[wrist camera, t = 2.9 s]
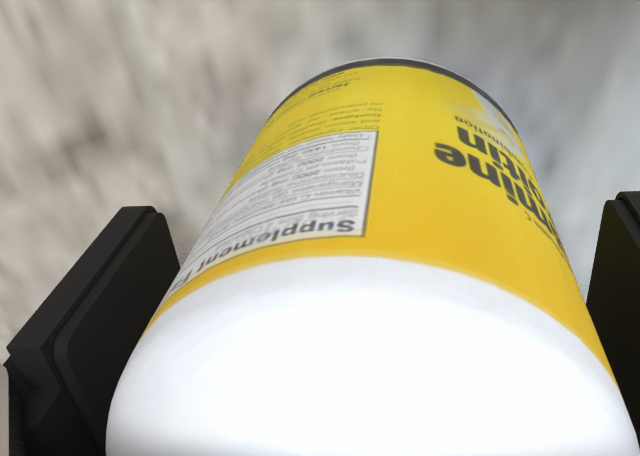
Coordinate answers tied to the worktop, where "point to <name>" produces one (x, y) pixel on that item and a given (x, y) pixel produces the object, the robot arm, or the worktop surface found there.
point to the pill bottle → (375, 293)
